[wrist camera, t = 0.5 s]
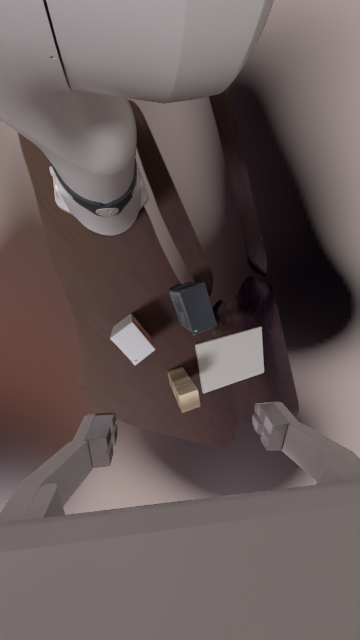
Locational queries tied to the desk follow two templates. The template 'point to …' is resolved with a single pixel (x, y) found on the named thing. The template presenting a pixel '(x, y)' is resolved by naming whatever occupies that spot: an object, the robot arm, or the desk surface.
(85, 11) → the robot arm
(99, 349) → the desk surface
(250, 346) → the rubber mat
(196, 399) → the maple block
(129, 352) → the small box
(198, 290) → the small box
